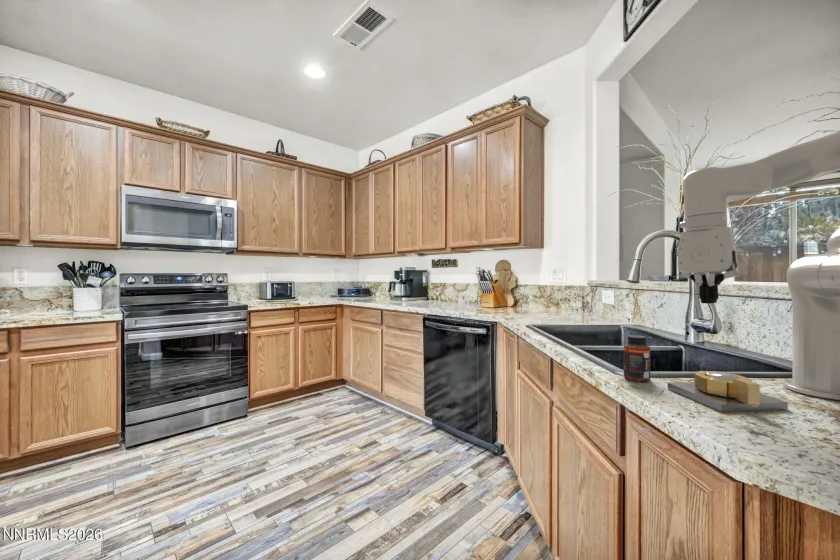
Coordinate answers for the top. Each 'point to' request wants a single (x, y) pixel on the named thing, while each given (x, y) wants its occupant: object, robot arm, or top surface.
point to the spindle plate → (725, 402)
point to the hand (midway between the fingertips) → (708, 302)
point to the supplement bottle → (637, 359)
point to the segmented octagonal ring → (729, 387)
